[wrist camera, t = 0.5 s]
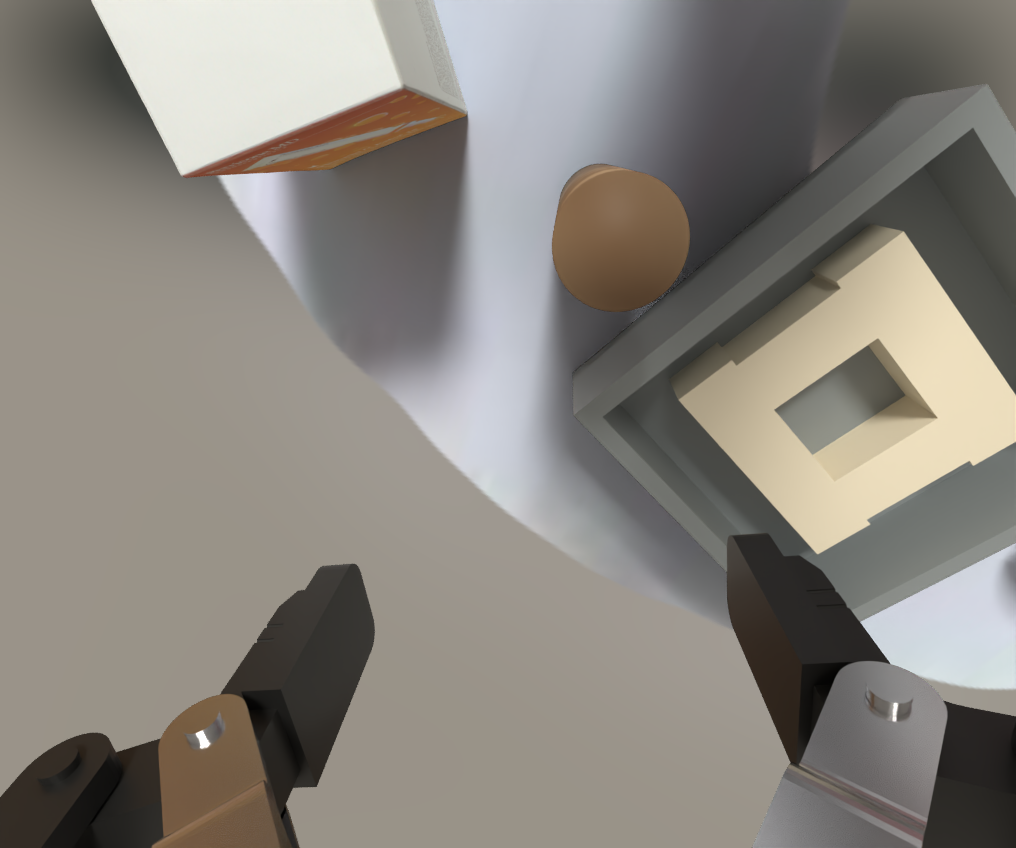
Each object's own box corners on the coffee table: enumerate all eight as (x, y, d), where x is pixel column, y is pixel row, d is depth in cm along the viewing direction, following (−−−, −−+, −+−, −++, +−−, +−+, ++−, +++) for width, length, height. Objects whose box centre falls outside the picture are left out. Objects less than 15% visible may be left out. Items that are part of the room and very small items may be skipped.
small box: (329, 172, 30) (176, 183, 18) (273, 35, 27) (54, -54, 16) (473, 117, 28) (406, 89, 16) (427, -34, 26) (309, -192, 14)
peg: (602, 145, 28) (630, 137, 16) (653, 207, 29) (718, 247, 17) (542, 205, 30) (524, 241, 17) (593, 262, 31) (611, 337, 18)
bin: (900, 98, 26) (987, 83, 21) (1091, 397, 31) (1201, 448, 26) (572, 373, 33) (573, 415, 28) (769, 580, 38) (802, 650, 33)
